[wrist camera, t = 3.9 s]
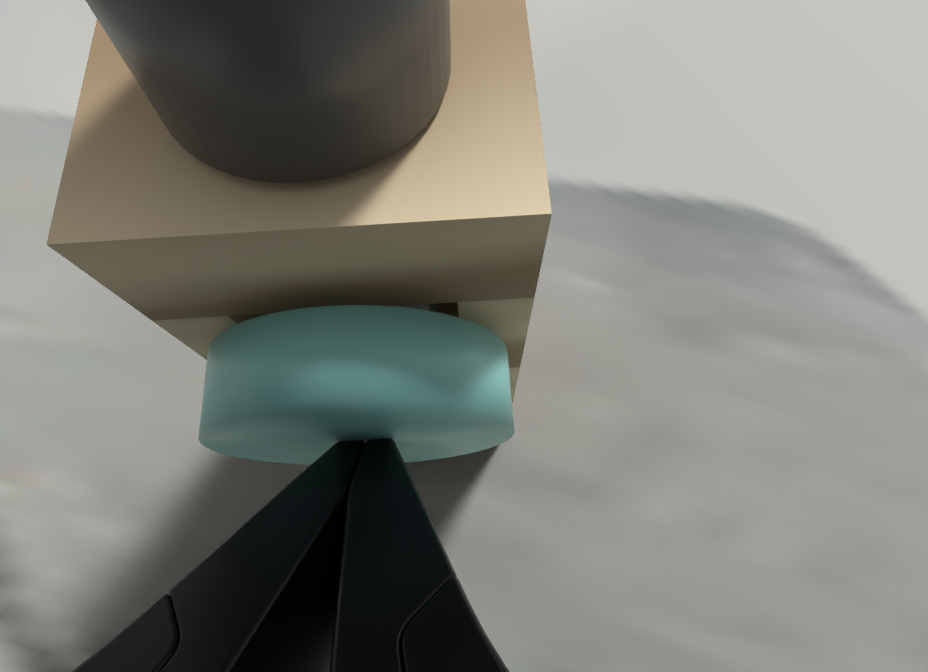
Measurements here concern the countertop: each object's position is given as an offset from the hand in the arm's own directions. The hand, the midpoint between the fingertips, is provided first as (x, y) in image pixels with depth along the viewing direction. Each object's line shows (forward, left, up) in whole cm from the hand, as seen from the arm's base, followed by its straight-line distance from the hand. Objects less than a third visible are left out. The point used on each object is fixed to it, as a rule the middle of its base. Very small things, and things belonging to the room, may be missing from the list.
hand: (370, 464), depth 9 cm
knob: (+3, -1, -2) cm, 4 cm away
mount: (+4, -1, -7) cm, 8 cm away
